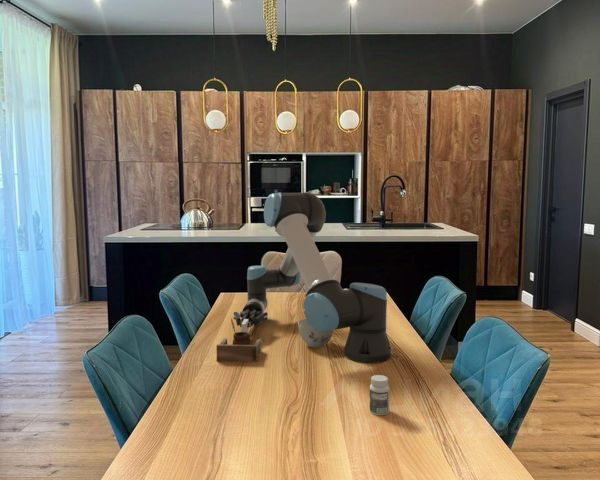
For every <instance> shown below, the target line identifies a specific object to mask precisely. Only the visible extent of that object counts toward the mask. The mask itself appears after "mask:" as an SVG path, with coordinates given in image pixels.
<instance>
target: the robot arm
mask: <svg viewBox="0 0 600 480" xmlns="http://www.w3.org/2000/svg"><path fill="white" fill-rule="evenodd" d="M326 215H327V213H326V208H325V205H324V203H323V201H322V200H321V199H320V198H319V196H317V195H316V194H314V193H311V192H276V193H270V194H269V195H268V196H267V197H266V200H265V202H264V207H263V219H264V223H265V225H266V226H267V227H268V228H269V227H270V228H273V227H274V229H275V231H276V233H277V234H278V235H279V236H280V237H283V238H284V240H285V242H286V245H287V250H286V252H285V254H284V257H283V259H282V261H281V263H280V266H279V267H278V268H274V269H267V267H266V266H264V265H251V266H248V268H247V275H246V276H247V277H246V280H247V301H246V302H247V303H246V304H245V305H244V307H243V308H242V311H240V312H238V311H234V312H233V320H234V321H235V323H236V326H239V327H240V328H241V329H240V330H241V331H240V332H247V331H246V330H249V327H253V326H255V327H257V326H259V325H260V324H262V323H263V322H264V321H267V320H268V312H265V311H266V309H267V308H268V299H267V290H269V289H277V288H278V289H279V288H287V287H289V288H290V287H292V286H297V285H298V284H299V283H300V279H302V281H303V283H304V285H305V288H306V289H307V290H306V292H305V294H304V295H305V297H304V300H303V305H302V306H303V309H304V311H303V313H304V317H305V319H307V321H308V323H309V324H310V326H311V327H312V328H314V329H315V330H318V331H333V330H334V331H336V330H339V329H340V330H341V329H347V328H349V332H348V335H347V339H346V341H345V345H344V347H343V356H344V357H345V358H346V359H349V360H352V361H354V362H358V363H359V362H360V363H369V364H370V363H372V364H373V363H381V362H386V361H388V360H390V359H391V357H392V347H391V345H390V344H391V343H390V341H389V337H388V334H387V306H388V298H387V290H386V288H385V287H383V286H381V285H377V284H373V283H365V282H352V283H350V284H349V288H346V289H347V290H343V289H344V288H342V286H341V283H340V281H339V280H338V279H335V278H332V275H331V274H330V272H329V269H328V268H327V266H326V264H325V261H324V259H323V257H322V255H321V253H320V251H319V249H318V247H317V245H316V243H315V240H314V239H315V237H316V235H317V234H318V233H319V232H321V231H322V229H323V227H324V225H325V222H326ZM245 322H247V323H248V322H249V323H248V324H247V323H246V324H245ZM250 324H251V325H250ZM249 325H250V326H249ZM246 328H247V329H246Z"/></svg>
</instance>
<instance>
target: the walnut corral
mask: <svg viewBox="0 0 600 480" xmlns="http://www.w3.org/2000/svg"><path fill="white" fill-rule="evenodd" d="M261 351H262V339H261V338H257V339H256V341H255V343H254V344H251V345H233V344H228V338H223V339H222V340H221V342H220V343H218V344H216V362H242V363H244V362H245V363H248V362H249V363H257V361H258V358H259V356H260V355H261Z"/></svg>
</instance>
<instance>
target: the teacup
mask: <svg viewBox="0 0 600 480" xmlns="http://www.w3.org/2000/svg"><path fill="white" fill-rule="evenodd" d="M297 326H298V331H299V334H300V337H301V340H303V341H304V342H305V343H306V345H307V347H308V348H309V347H310V348H314V349H315V348H323V347H325V346H326V345H327V343H328V342H329V341H330V340H331V339H332V336H333V334H334V331H335V330H333V331H318V330H315V329H314V328H312V327H311V326H310V324H309V323H308V321H307V319H306V318H304V319H301V320H299V321H298V322H297Z"/></svg>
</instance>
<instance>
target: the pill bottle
mask: <svg viewBox="0 0 600 480" xmlns="http://www.w3.org/2000/svg"><path fill="white" fill-rule="evenodd" d="M370 383H371V384H370V385H369V411H370V413H371V414H373V415H376V416H384V415H388V414H389V412H390V386H389V385H388V384H389V378H388V376H385V375H383V374H382V375H381V374H376V375H372V376H371V377H370Z"/></svg>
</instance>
